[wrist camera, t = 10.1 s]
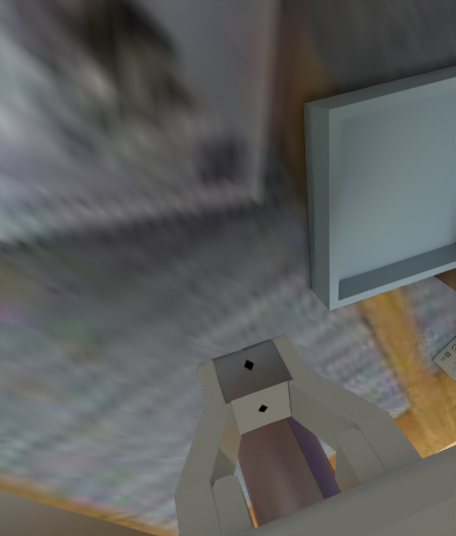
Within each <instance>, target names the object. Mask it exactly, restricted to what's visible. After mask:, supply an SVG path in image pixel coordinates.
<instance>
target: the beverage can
mask: <svg viewBox="0 0 456 536" xmlns="http://www.w3.org/2000/svg"><path fill="white" fill-rule="evenodd" d="M237 457H238V461H239V464H240V467H241V471H242V474H243V478H244V481H245V485H246V488H247V491H248V495H249V498H250V502H251V505H252V508H253V512H254V515H255V519H256V522H257V525H258V527H259V526H261V525H264V524H266V523H269V522H271V521H274V520H276V519H278V518H281V517H283V516H286V515H288V514H290V513H293V512H295V511H298V510H300V509H303V508H305V507H307V506H310V505H312V504H315V503H317V502H319V501H322V500H324V499H327V498H329V497H332V496H334V495H336V494H339V493H341V490H340V488H339V486H338V484H337V482H336V480H335V471H334V469H333V467H332V465H331V463H330V461H329V460H328V458H327V456H326V454H325V452H324V450H323V448H322V446H321V444H320V442H319V440H318V438H317V436H316V435H314V434H313V433H312V432H310V431H309V430H308V429H307V428H305V427H304V426H303V425H301V424H300V423H299V422H298V421H296V420H295V419H294V418H292V416H290V417H287V418H284V419H281V420H278V421H275V422H272V423H269V424H266V425H264V426H261V427H259V428H257V429H254V430H252V431H249V432H247V433H244V434H242V435H241V441H240V446H239V451H238V456H237Z"/></svg>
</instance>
